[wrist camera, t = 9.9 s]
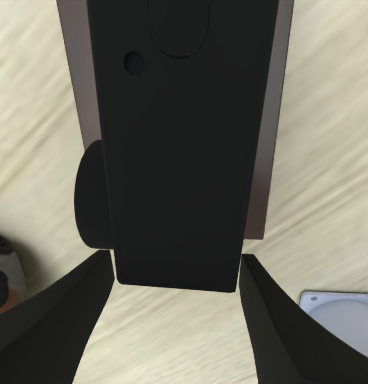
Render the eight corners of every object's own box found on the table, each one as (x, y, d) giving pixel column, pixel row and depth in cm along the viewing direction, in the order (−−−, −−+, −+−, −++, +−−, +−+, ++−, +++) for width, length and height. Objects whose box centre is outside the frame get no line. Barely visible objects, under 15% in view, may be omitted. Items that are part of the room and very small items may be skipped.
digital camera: (122, -2, 11) (3, -146, 4) (241, -2, 10) (305, -155, 4) (135, 201, 15) (83, 284, 8) (221, 206, 14) (236, 296, 8)
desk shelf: (273, -22, 14) (304, -73, 9) (250, 208, 19) (263, 240, 15) (90, -11, 14) (45, -53, 10) (121, 207, 20) (100, 236, 16)
